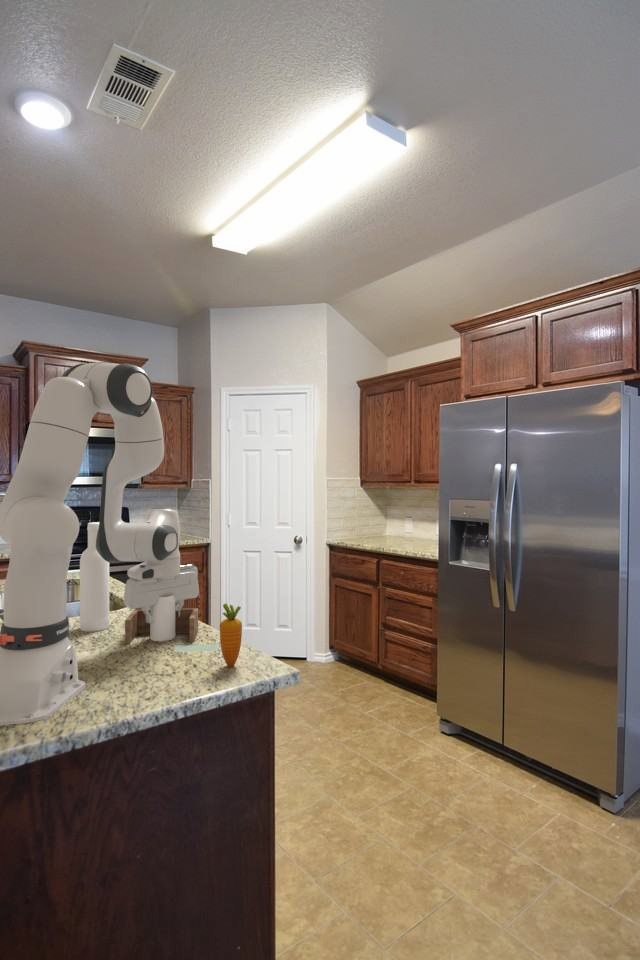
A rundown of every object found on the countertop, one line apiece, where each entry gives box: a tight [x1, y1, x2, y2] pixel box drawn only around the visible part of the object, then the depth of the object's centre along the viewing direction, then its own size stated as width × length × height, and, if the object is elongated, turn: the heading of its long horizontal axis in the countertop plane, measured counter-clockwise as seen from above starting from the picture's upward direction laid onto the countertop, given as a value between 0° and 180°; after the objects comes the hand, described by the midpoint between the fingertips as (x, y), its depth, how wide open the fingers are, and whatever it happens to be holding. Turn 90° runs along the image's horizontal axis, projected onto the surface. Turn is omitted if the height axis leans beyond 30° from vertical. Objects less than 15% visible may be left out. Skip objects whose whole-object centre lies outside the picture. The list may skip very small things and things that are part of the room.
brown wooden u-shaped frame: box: [124, 607, 199, 645], centre depth 143 cm, size 10×17×6 cm, turn 97°
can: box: [149, 594, 176, 642], centre depth 143 cm, size 6×6×12 cm
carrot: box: [219, 603, 243, 668], centre depth 121 cm, size 5×5×15 cm
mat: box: [173, 643, 221, 653], centre depth 131 cm, size 11×11×1 cm
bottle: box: [79, 521, 111, 633], centre depth 152 cm, size 8×8×30 cm
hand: (163, 619), depth 143 cm, fingers closed on can, 6 cm apart
